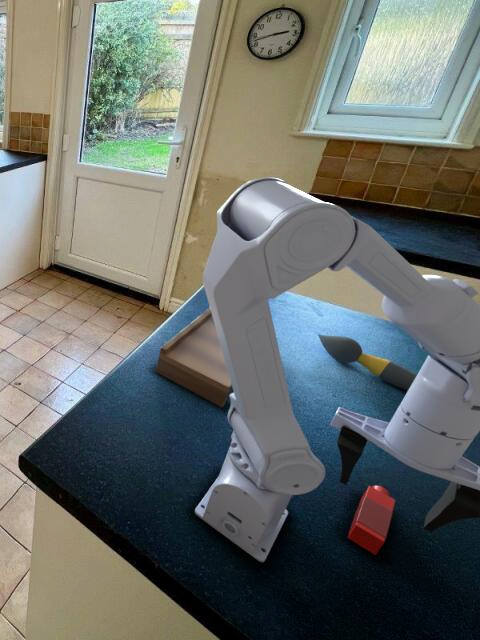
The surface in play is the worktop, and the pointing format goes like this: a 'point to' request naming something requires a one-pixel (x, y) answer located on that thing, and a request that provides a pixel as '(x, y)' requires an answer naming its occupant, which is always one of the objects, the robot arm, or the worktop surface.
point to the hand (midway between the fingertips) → (384, 500)
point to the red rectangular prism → (372, 519)
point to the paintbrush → (367, 361)
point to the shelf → (197, 360)
